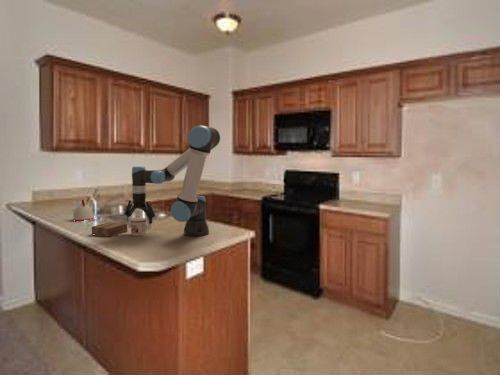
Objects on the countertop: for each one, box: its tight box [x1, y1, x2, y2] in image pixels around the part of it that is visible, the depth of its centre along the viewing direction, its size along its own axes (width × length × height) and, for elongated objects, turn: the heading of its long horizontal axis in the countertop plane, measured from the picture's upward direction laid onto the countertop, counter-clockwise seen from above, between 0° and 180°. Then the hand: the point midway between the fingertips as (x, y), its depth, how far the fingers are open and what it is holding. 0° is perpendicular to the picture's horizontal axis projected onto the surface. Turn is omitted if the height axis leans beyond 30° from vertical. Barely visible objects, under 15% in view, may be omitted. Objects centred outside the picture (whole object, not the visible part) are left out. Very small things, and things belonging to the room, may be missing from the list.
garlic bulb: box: [72, 199, 95, 221], centre depth 239 cm, size 14×14×15 cm
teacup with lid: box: [130, 214, 148, 237], centre depth 197 cm, size 12×9×12 cm
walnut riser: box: [91, 221, 128, 238], centre depth 200 cm, size 14×14×5 cm
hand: (139, 228), depth 197 cm, fingers open, 13 cm apart
